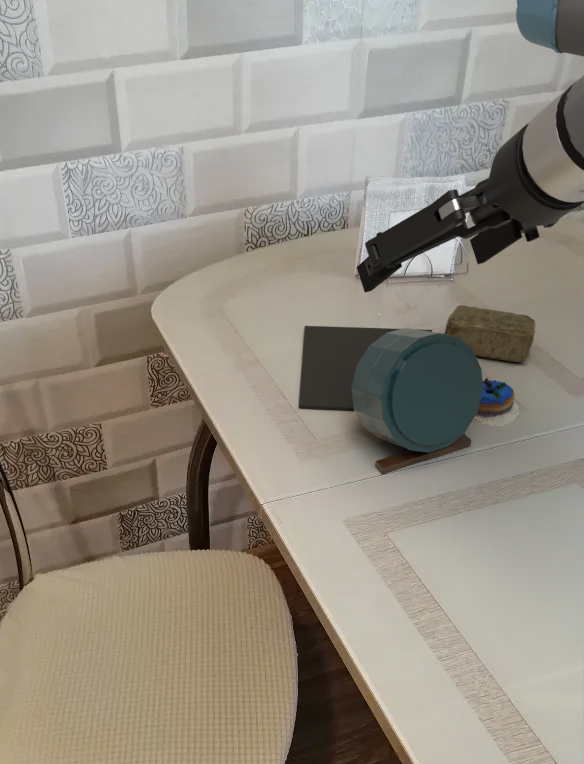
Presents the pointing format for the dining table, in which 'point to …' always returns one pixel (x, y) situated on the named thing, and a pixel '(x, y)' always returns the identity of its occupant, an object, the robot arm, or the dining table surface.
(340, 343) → the mat
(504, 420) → the dessert
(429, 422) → the bowl
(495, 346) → the stone block
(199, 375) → the dining table surface
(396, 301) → the dining table surface
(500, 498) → the dining table surface
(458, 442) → the stop rail
